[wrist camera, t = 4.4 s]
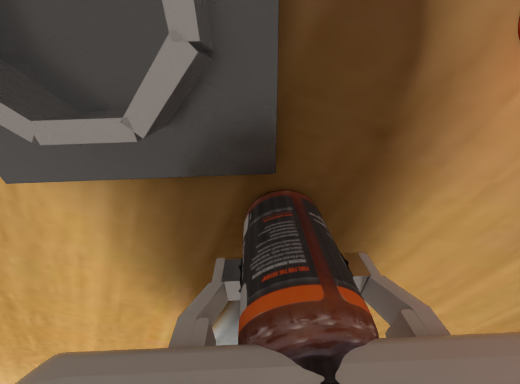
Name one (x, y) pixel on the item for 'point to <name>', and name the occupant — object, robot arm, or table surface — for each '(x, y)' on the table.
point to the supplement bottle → (299, 287)
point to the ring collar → (137, 89)
